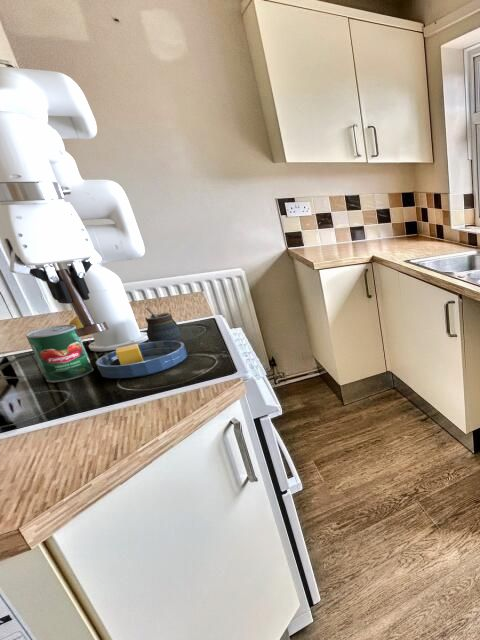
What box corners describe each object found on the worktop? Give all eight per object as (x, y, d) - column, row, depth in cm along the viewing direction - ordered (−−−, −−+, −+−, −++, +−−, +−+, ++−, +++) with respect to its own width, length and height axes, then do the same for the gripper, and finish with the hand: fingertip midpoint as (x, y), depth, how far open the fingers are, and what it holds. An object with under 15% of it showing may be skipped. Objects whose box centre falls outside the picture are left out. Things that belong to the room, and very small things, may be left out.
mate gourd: (166, 348, 112) (153, 313, 108) (142, 347, 113) (129, 312, 110) (190, 339, 119) (179, 305, 115) (167, 338, 120) (156, 304, 116)
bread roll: (74, 334, 126) (69, 321, 124) (69, 328, 131) (64, 316, 129) (110, 326, 132) (106, 314, 130) (104, 321, 137) (100, 310, 135)
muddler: (74, 337, 78) (39, 274, 74) (103, 330, 81) (71, 269, 78) (83, 336, 76) (47, 270, 72) (113, 328, 79) (80, 265, 76)
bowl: (85, 375, 97) (79, 361, 96) (161, 350, 111) (156, 337, 110) (129, 385, 92) (124, 370, 91) (203, 357, 106) (199, 344, 105)
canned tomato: (64, 383, 93) (43, 337, 89) (36, 381, 95) (14, 335, 91) (102, 368, 101) (84, 325, 97) (76, 367, 102) (57, 324, 98)
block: (121, 363, 102) (115, 348, 100) (142, 358, 104) (137, 343, 103) (122, 368, 99) (115, 352, 98) (143, 363, 101) (137, 348, 100)
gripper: (76, 193, 79) (112, 289, 85) (-53, 197, 65) (2, 311, 71) (100, 192, 76) (136, 291, 83) (-28, 196, 62) (27, 315, 69)
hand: (73, 300), depth 77 cm, fingers closed on muddler
